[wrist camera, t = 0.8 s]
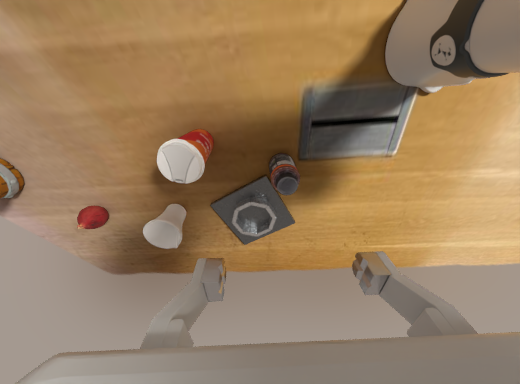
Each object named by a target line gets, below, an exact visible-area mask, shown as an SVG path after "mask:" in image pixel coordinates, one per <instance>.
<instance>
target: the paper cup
mask: <svg viewBox="0 0 520 384" xmlns="http://www.w3.org/2000/svg"><path fill="white" fill-rule="evenodd" d="M213 145H214V142H213V138H212V136H211V135H210V134H209V133H208V132H207V131H205V130H202V129H196V130H193V131H191V132H189V133H187V134H185V135H183V136H181V137H179V138H177V139H172V140H170V141H167V142H165V143H164V144H163V145H162V146H161V147H160V148H159V151H158V154H157V165H158V168H159V170H160V172H161V173H162V174H163V175H164V176H165V177H166V178H167V179H169V180H170V181H172V182H173V181H175V182H177V183H186V184H187V183H191V182H194V181H196V180H198V179H199V178H200V177H201V176H202V174H203V172H204V168H205V164H206V162H207V160H208V157H209V155H210V153H211V151H212V149H213Z"/></svg>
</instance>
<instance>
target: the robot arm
mask: <svg viewBox="0 0 520 384" xmlns="http://www.w3.org/2000/svg"><path fill="white" fill-rule="evenodd" d="M385 59H386V65H387V69H388V71H389V73H390V75H391V77H392V78H393V79H394V80H395V81H396V82H398V83H400V84H402V85H405V86H415V87H419V88H420V89H422V90H423V91H425V92H427V93H434V92H436V91H438V90H440V89H441V88H442V87H444V86H455V85H465V84H468V83H470V82H471V81H472V80H474V79H481V78H490V77H496V76H502V75H505V74H508V73H516V72H520V0H407V2H406V4H405V5H404V7H403V9H402V10H401V12H400V13H399V15H398V16H397V18H396V20H395V22H394V24H393V26H392V28H391V30H390V33H389V36H388V40H387V44H386V51H385ZM355 257H356V260H355V261H353V264H352V269H353V273H354V275H355V277H356V278H357V279H359V280H360V283H359V285H360V287H361V289H362V290H363V292H364V294H365V295H379V296H380V297H382V298H383V299H384V300H385V301H386V302H387V303H389V305H390V306H392V307H393V308H394V309H395V310H396V311H397V312H398V313H400V315H401V316H403V317H404V318H405V319H406V320H407V321H408V322H409V323H410V324H411V325H412V326H411V327H410V328H409V329H408V331H407V334H408V336H409V337H399V338H378V339H355V340H354V339H353V340H331V341H309V342H287V343H265V344H243V345H221V346H199V347H193V341H192V339H191V336H190V334H189V332H188V331H189V329H190V328H191V327H192V325H193V324H194V322H195V321H196V320H197V318H198V317H199V315H200V314H201V312H202V311H203V310H204V308H205V307H206V305H207V304H208V302H212V301H223V296H224V284H225V281H226V267H225V266H224V263H225V261H224V258H200V259H198V261H197V263H196V266H195V270H194V273H193V276H192V280H191V283H190V284H187V285H186V286H185V287H184V288H183V289H182V290H181V291H180V292H179V293H178V294H177V295H176V296H175V297H174V298H173V299H172V300H171V301H170V302H169V303H168V304H167V305H166V306H165V307H164V308H163V309H162V310H161V311H160V312H159V313H158V314H157V315H156V316H155V317H154V318H153V320H152V322H151V324H150V326H149V329H148V331H147V333H146V336H145V338H144V340H143V343H142V345H141V347H140V349H133V350H111V351H91V352H90V351H89V352H66V353H60V354H57V355H54V356H52V357H51V358H49V359H48V360H46V361H45V362H44V363H42V364H41V365H39V366H38V367H37V368H35V369H34V370H32V371H31V372H30V373H28V374H27V375H26V376H25V377H23V378H22V379H21V380H19V381H18V382H17V383H15V384H520V332H511V333H510V332H509V333H486V334H478V333H477V332H476V331H475V330H474V329H473V327H472V326H471V325H470V324H469V323H468V322H467V321H466V320H465V318H464V317H463V316H462V315H461V314H460V313H459V312H458V310H457V309H456V308H455V307H454V306H452V305H451V304H449V303H448V302H446V301H445V300H443V299H442V298H440V297H438V296H437V295H435V294H434V293H432V292H430V291H429V290H427V289H425V288H424V287H423V286H421V285H419V284H418V283H416V282H415V281H413V280H411V279H410V278H408V277H407V276H405V275H401V273H400V272H399V271H398V270H397V268H396V267H395V266H394V264H393V263H392V262H391V260H390V259H389V258H388V256H387V255H386V254H385V253H384V252H383V251H382V252H358V253H356V255H355Z"/></svg>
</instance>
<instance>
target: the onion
mask: <svg viewBox="0 0 520 384" xmlns="http://www.w3.org/2000/svg"><path fill="white" fill-rule="evenodd" d="M107 220H108V212H107V211H106V209H104V208H103V207H100V206H88V207H86V208H84V209H82V210H81V211H80V212H79V215H78V217H77V221H78V224H79V225H78V226H77V228H79V229H84V228H85V229H95V228H98V227H101V226H102V225H104V224H105V223H106V221H107Z"/></svg>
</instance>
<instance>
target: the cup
mask: <svg viewBox="0 0 520 384" xmlns="http://www.w3.org/2000/svg"><path fill="white" fill-rule="evenodd" d="M185 217H186V210H185V208H184V207H182V206H181V205H179V204H170V205H168V206H167V208H166V209H165V211H164V212H163V213H162V214H161V215H160V216H158V217H157V218H156V219H153V220H151V221H150V222H148V223H147V224H145V226H144V227H143V235H144V236H145V238H146V240H147V241H148V242H149V243H151V244H152V245H154V246H156V247H159V248H165V249H170V248H178V245H179V244H180V243H181V241H182V224H183V221H184V219H185Z"/></svg>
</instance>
